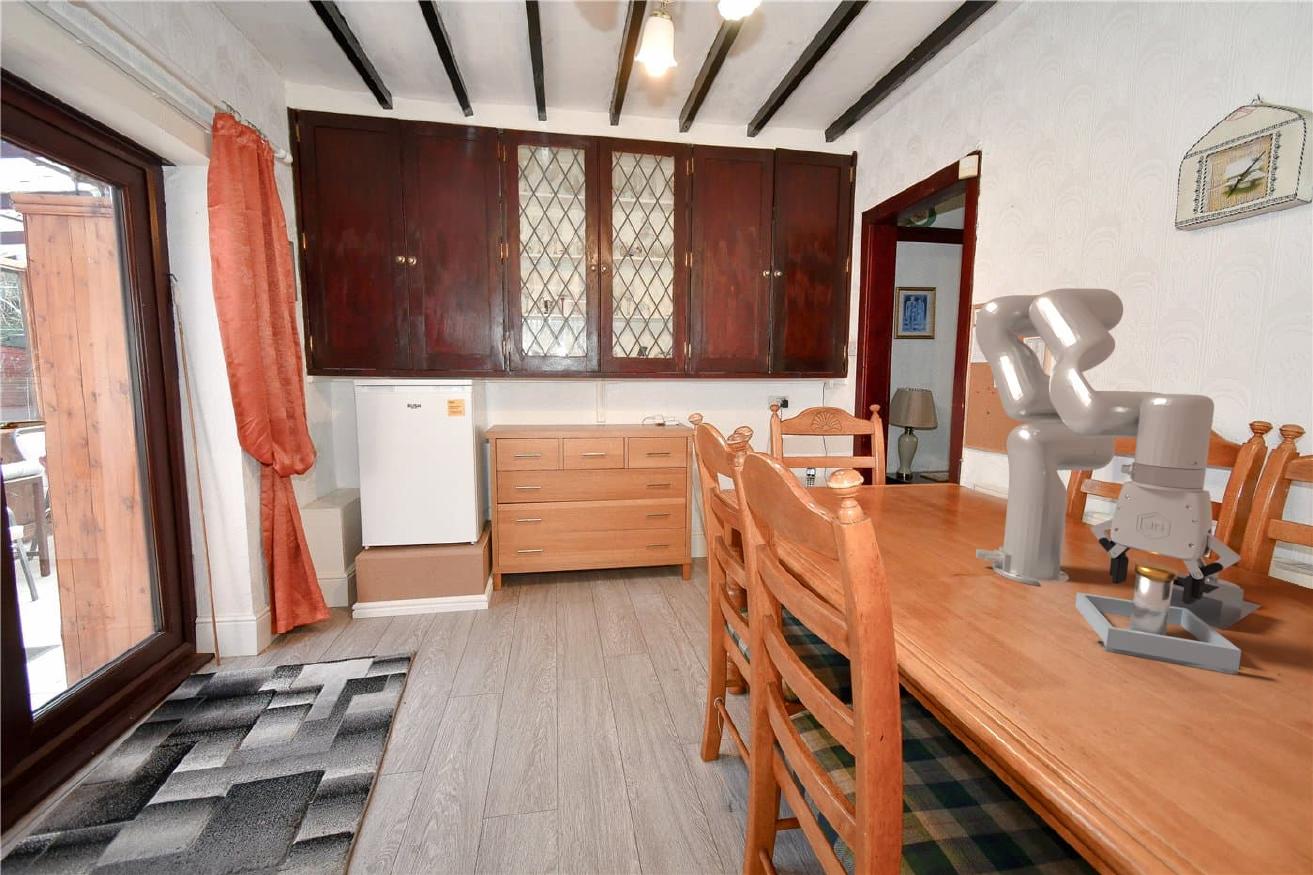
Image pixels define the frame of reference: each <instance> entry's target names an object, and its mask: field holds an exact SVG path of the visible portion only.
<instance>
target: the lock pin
mask: <svg viewBox="0 0 1313 875" xmlns="http://www.w3.org/2000/svg"><path fill="white" fill-rule="evenodd" d="M1133 572H1135V573H1136V575H1135V584H1134V591H1133V599H1132V601H1133V604H1132V612H1131V617H1130V621H1129V627H1128V630H1134V631H1140V632H1146V633H1152V634H1158V635H1164V636H1167V630H1168V629H1167V628H1168V624H1169V623H1168V616H1169V609H1170V602H1171V595H1172V588H1173V581H1174V580H1177V574H1178V573H1179V571H1178V569H1176V568H1174V567H1172V566H1169V565H1166V564H1161V563H1157V562H1149V561H1135V563H1134V571H1133Z"/></svg>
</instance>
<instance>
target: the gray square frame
mask: <svg viewBox="0 0 1313 875" xmlns="http://www.w3.org/2000/svg"><path fill="white" fill-rule="evenodd" d="M1132 604H1133V599H1132V600H1131V599H1124V598H1117V597H1111V596H1110V597H1109V596H1104V595H1097V594H1091V593H1085V592H1078V591H1077V592H1076V597H1075V605H1074V607H1075V608H1076V609H1077V611H1078V612H1079V613H1080V614H1081V615H1082V617H1083V618H1084V619H1085V620H1086V621H1087V623H1088V625H1090V627H1091V628H1092V629H1093V630H1094V631H1095V632H1096V634H1097V635H1098V636H1099V637H1100V639H1101V640H1102V641H1101V640H1097V642H1098V643H1099V644H1100V646H1101V647H1102V648H1103V649H1104V651H1105V652H1111V653H1116V654H1120V655H1127V656H1132V657H1138V658H1143V659H1148V660H1154V661H1159V662H1166V663H1170V664H1175V665H1181V666H1186V667H1190V668H1191V667H1192V668H1198V669H1203V670H1209V671H1212V672H1213V671H1214V672H1220V673H1224V674H1230V675H1236V676H1238V675H1239V668H1240V663H1241V655H1242V650H1241V648H1239V647H1237V646H1236V644H1235V645H1234V644H1233V643H1232V642H1231V641H1230V640H1228V638H1226V637H1224V636H1223V635H1221V634H1220V632H1218V631H1217V630H1215V628H1213V627H1210V626H1209V625H1207V624H1206V623H1205V622H1203V621H1202V620H1201V619H1200V618H1198V617H1197V616H1196V615H1194V614H1193V613H1192V612H1190V611H1189V610H1188V609H1186V608H1179V607H1173V606H1170V609H1169V616H1168V623H1167V624H1174V625H1180V626H1182V628H1184V630H1186V631H1187V632H1188V633H1190V635H1192V636H1193V637H1194V638H1196V639H1197V640H1193V639H1188V638H1187V639H1186V638H1181V637H1175V636H1169V635H1166V636H1164V635H1158V634H1152V633H1146V632H1140V631H1134V630H1129V628H1128V629H1126V628H1122V627H1120V628H1119V627H1115V626H1113V625H1112V624H1111V623H1110V622H1109V621H1108V619H1107V618H1106V617H1105V616H1104V615H1103V614H1102V613H1104V614H1109V615H1116V616H1123V617H1128V618H1131V612H1132Z"/></svg>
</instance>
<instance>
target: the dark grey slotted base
mask: <svg viewBox="0 0 1313 875" xmlns="http://www.w3.org/2000/svg"><path fill="white" fill-rule="evenodd" d="M1219 574H1220V571H1219V572H1217V573H1214V574H1212V575H1209V576H1207V577H1205V583H1204V590H1203V596H1202V598H1201V599H1200V600H1198V599H1197V600H1196V601H1195V602H1193V603H1191V604H1185V603H1184V602H1182V599H1183V591H1184V584H1185V578H1186V577H1187V576H1189V574H1185V573H1184V574H1182V573H1179V572H1178V574H1177V580H1174V581H1173V588H1172V595H1171V602H1170V606H1173V607H1179V608H1186V609H1188V610H1189V611H1190V612H1192V613H1193V614H1194V615H1196V616H1197V617H1198V618H1200V619H1201V620H1202V621H1203V622H1205V623H1206V624H1207V625H1209V626H1210V627H1211V628H1213V629H1217V630H1220V631H1224V630H1226V629H1228V628H1229V627H1231V626H1233V625H1235V624H1236V623H1237V622H1239V621H1240V620H1242V619H1244V618H1245V617H1247V616H1249V615H1250V614H1251V613H1253V612H1255V611H1256V610H1258V609H1260V608H1262V605H1261V604H1257V603H1253V602H1249V601H1246V600H1243V599H1244V592H1245V589H1243V588H1241V587H1240V586H1239V585H1237V584H1236V583H1233V582H1230V581H1228V580H1224V579H1221V578H1219V576H1220V575H1219Z"/></svg>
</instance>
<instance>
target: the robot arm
mask: <svg viewBox="0 0 1313 875" xmlns="http://www.w3.org/2000/svg"><path fill="white" fill-rule="evenodd" d="M1123 314H1124V304H1123V301H1122V299H1121V298H1120V296H1119V295H1117V293H1115V292H1114V291H1111V290H1109V289H1106V288H1076V287H1075V288H1071V287H1070V288H1069V287H1068V288H1065V287H1064V288H1055V289H1051V290H1048V291H1045V292H1043V293H1041V294H1038V295H1036V294H1035V295H1034V294H1033V295H1030V294H1029V295H1028V294H1026V295H1025V294H1024V295H1022V294H1021V295H1017V294H1016V295H1014V294H1013V295H1005V296H999V297H995V298H992V299H990V300H988V301H987V302H985V303H984V304H983V305H982V306H981V307H980V309H979V311H978V313H977V316H976V320H975V338H976V342H977V344H978V347H979V349H980V350H979V351H980V352H981V353H982V355H983V357H984V358H985V360H986V363H987V364H988V366H989V368H990V370H991V372H992V376H993V381H994V384H995V386H996V390H997V392H998V395H999V399H1000V402H1001V403H1000V404H1001V405H1002V408H1003V410H1004V412H1005V414H1006V415H1007V416H1008V417H1009V418H1010V419H1011V420H1014V421H1018V422H1025V423H1022V424H1020V425H1017V426H1016V427H1015V428H1013V429H1012V430H1011V431H1010V432H1009V434H1008V437H1007V440H1006V453H1007V459H1008V460H1007V461H1008V471H1009V472H1008V492H1007V503H1006V504H1007V506H1006V515H1005V526H1004V527H1005V528H1004V537H1003V538H1004V539H1003V546H999V549H994V550H987V549H983V548H976V549H975V550H976V551H975V557H976V559H982V560H983V559H984V562H989V563H992V570H993V571H994V572H995V573H996V574H998V575H999V574H1000V575H999V576H1001V575H1002V576H1001V577H1003V576H1004V578H1006V579H1009V580H1011V581H1015V582H1018V583H1021V584H1026V585H1031V586H1036V587H1037V586H1038V587H1042V585H1041V584H1040V582H1043V583H1063V582H1067V581H1068V580H1069V579H1070V577H1069V575H1068V574H1067V573H1066V572H1063V571H1062V570H1061V564H1062V555H1063V542H1064V534H1065V526H1066V525H1065V523H1066V516H1067V508H1068V507H1067V505H1068V491H1067V488H1066V485H1065V484H1064V482H1063V480H1062V478H1061V476H1060V475H1059V472H1058V471H1094V470H1095V471H1097V470H1100V469H1103V468H1105V467H1107V466H1108V465H1109V464H1110V463H1111V462H1112V461H1113V458H1114V455H1115V452H1116V444H1115V439H1114V438H1122V439H1136V444H1135V450H1134V451H1135V452H1134V457H1133V462H1131V464H1122V466H1121V468H1120V471H1121V473H1123V474H1127V475H1129V477H1130V478H1129V479H1130V481H1124V482H1123V484H1122V487H1121V489H1120V491H1119V495H1118V498H1117V501H1116V505H1115V509H1114V513H1113V516H1112V518H1111V519H1108V520H1105V521H1103V522H1100V523H1098V524H1095V525H1093V526H1090V531H1091V532H1092V533H1093V535H1094V537H1095V538H1096V539H1097V540H1098V543H1099V544H1100V546H1102V548H1103V549H1104V550H1105V551H1106V552H1107V555H1108V557H1109V558H1110V565H1109V573H1108V574H1109V576H1112V578H1111V583H1112V584H1115V585H1117V584H1121V583H1125V582H1126V581H1127V578H1128V568H1129V560H1130V559H1129V557H1128V556H1127V552H1128V551H1130V550H1131V549H1132V550H1136V551H1141V552H1145V553H1148V554H1149V553H1150V554H1153V555H1158V556H1161V557H1162V556H1163V557H1166V558H1171V559H1176V560H1180V561H1182V562H1183V563H1184V565H1185V567H1186V568H1187V570H1188V575H1189V576H1187V577H1186V578H1185V584H1184V591H1183V599H1182V602H1184V603H1185V604H1191V603H1193V602H1195V601H1196V600H1197V599H1198V600H1200V599H1201V598H1202V596H1203V590H1204V583H1205V577H1207V576H1209V575H1212V574H1214V573H1217V572H1219V573H1220V572H1221V571H1223V570H1225V569H1227V568H1228V567H1231V566H1232V565H1234V564H1237V562H1240V561H1241V559H1242V557H1241V556H1240V555H1239V554H1238V553H1237V552H1236V551H1234V550H1233V549H1232V548H1230V547H1229V546H1227V545H1226V544H1225V543H1224V542H1222V541H1221V540H1220V539H1218V538H1217V537H1216V536H1215V535H1214V534H1213V510H1212V508H1213V506H1212V500H1211V494H1210V491H1209V490H1205V489H1204V486H1205V478H1206V472H1207V463H1208V457H1209V448H1210V442H1211V441H1210V440H1211V435H1212V428H1213V421H1214V413H1215V403H1214V401H1213V399H1212V398H1210V397H1209V396H1206V395H1202V394H1188V393H1187V394H1186V393H1185V394H1184V393H1160V392H1153V391H1129V390H1095V389H1094V388H1093V387H1092V385H1091V384H1090V383H1089V382H1088V380H1087V379H1086V377H1085V376H1084V372H1087V371H1089V370H1091V369H1093V368H1095V367H1097V366H1099V365H1101V364H1102V363H1103V362H1105V361H1106V360H1107V359H1109V358H1110V356H1112V354H1113V352H1114V351H1115V349H1116V340H1115V338H1114V337H1113V335H1112V334H1111V333H1110V331H1112V330H1113V329H1115V328H1116V327H1117V325H1119V323H1120V322H1121V320H1122V318H1123ZM1022 336H1023V337H1024V336H1025V337H1040V339H1041V340H1042V342H1043V343H1044V344H1045V346H1046V348H1047V350H1048V351H1049V352H1050V354H1051V356H1052V358H1054V360H1055V362H1056V363H1055V365H1054V366H1053V369H1052V370H1051V373H1050V374H1047V373H1045V371H1044V370H1043V367H1042V365H1041V363H1040V358H1039V357H1038V355H1037V354H1036V352H1035V351H1034V350H1033V349H1032V348H1031V347H1030V346H1029V345H1028V344H1027V343H1025V342H1023V341H1022V340H1021V339H1020V338H1019V337H1022ZM1026 422H1027V423H1026ZM1108 530H1110V536H1109V534H1108ZM1211 550H1212V551H1213V552H1214V553H1216V554H1217V555H1218V556H1219V558H1218V559H1217V560H1215V561H1213V562H1212V563H1209V564H1207V563H1205V560H1204V559H1203V557H1204V556H1205V557H1206V556H1207V555H1209V553H1210V551H1211Z"/></svg>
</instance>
